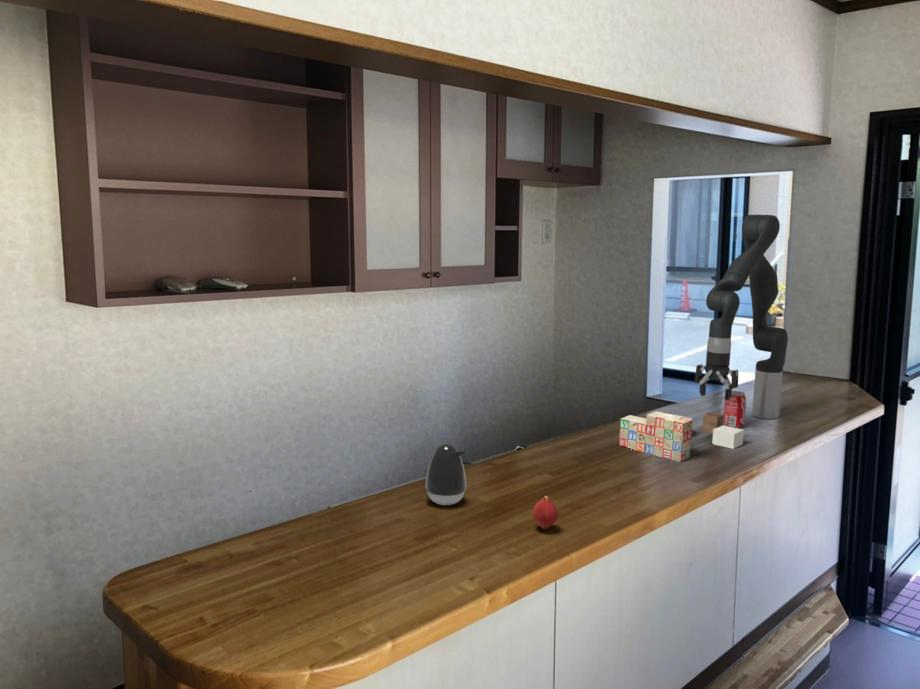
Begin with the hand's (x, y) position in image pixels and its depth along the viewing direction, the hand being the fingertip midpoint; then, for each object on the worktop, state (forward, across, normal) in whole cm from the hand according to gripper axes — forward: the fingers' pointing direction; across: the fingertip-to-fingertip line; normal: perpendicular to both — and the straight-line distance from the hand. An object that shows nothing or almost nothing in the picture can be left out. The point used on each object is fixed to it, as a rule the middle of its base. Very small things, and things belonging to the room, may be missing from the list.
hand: (714, 397), depth 255 cm
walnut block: (+12, 0, 0) cm, 12 cm away
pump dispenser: (+14, +17, +111) cm, 113 cm away
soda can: (+12, -2, -12) cm, 17 cm away
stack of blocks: (+13, +2, +35) cm, 37 cm away
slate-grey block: (+12, +5, +12) cm, 18 cm away
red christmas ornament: (+14, -10, +106) cm, 107 cm away
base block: (+12, -10, +10) cm, 19 cm away
